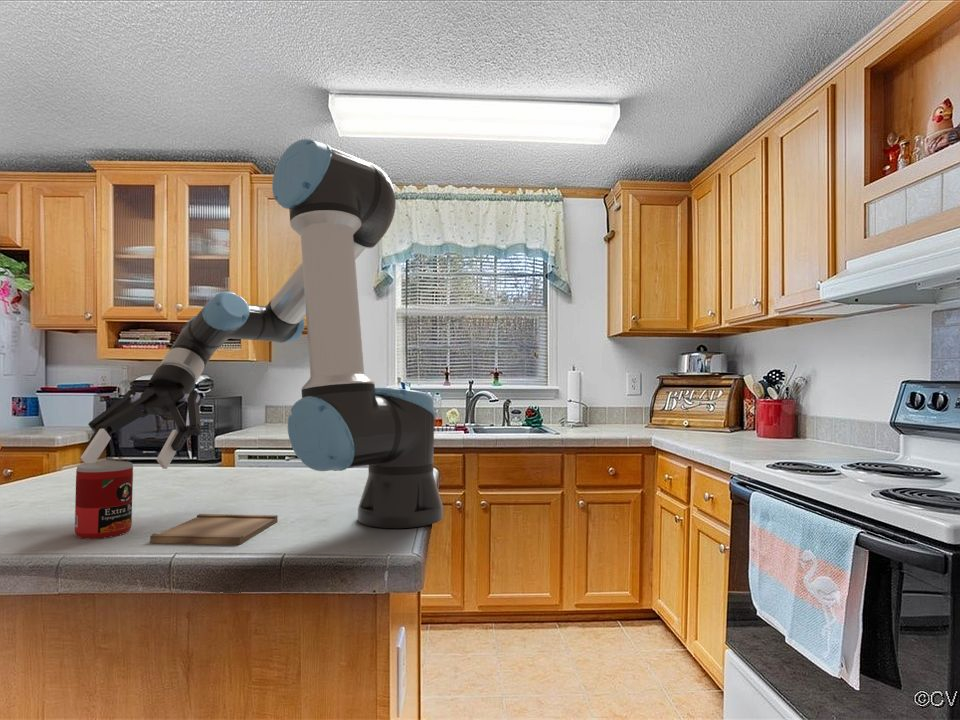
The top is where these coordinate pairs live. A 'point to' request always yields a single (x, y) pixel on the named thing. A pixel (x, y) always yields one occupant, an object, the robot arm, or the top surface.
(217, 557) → the top surface
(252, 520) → the trivet
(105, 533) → the canned food
